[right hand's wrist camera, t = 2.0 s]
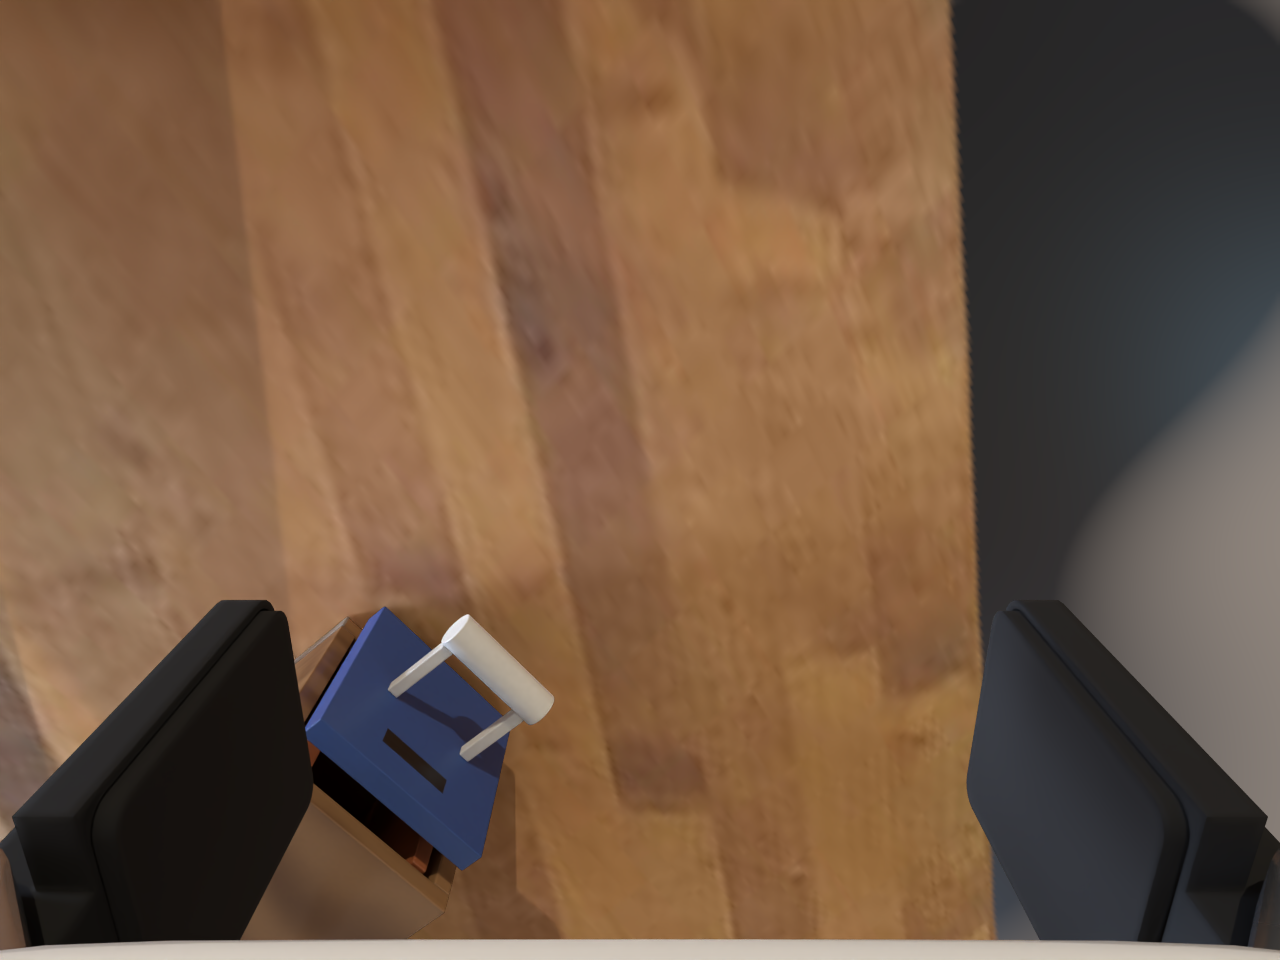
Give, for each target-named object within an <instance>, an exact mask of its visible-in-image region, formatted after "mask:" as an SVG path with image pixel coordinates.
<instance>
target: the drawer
mask: <svg viewBox="0 0 1280 960" xmlns="http://www.w3.org/2000/svg"><path fill="white" fill-rule="evenodd" d="M452 654H454V655H455V656H456V657H457V658H458V659H459V660H460V661H461V662H462V663H463V664H465V665H466V666H467V667H468V668H469V669H470V670H471V671H472V672H473V673H474V674H475V675H476V676H477V677H478V678H479V679H480V680H482V681H483V682H484V683H485V684H486V685H487V686H488V687H489V688H490V689H491V690H492V691H493V692H494V693H495V694H496V695H497V696H498V697H500V698H501V699H502V700H503V701H504V702H505V703H506V704H507V705H508V706H509V707H510V708H511V709H512V710H510V711H509V712H508V713H506V714H505V715H504V716H502V715H501V714H500V713H499V712H498V711H497V710H496V709H495V708H493V707H492V706H491V705H490V704H489V703H488V702H487V701H486V700H485V699H484V698H483V697H482V696H481V695H480V694H479V693H477V692H476V691H475V690H474V689H473V688H472V687H471V686H470V685H469V684H468V683H467V682H466V681H465V680H464V679H462V678H461V677H460V676H459V675H458V674H457V673H456V672H455V671H454V670H453V669H452V668H451V667H450V666H449V665H448V664H446V663H445V662H444V661H445V660H446V659H447V658H449V657H450V656H451V655H452ZM553 703H554V696H553V695H552V694H551V693H550V692H549V691H548V690H547V689H546V688H545V687H544V686H543V685H542V684H541V683H540V682H538V681H537V680H536V679H535V678H534V677H533V676H532V675H531V674H530V673H529V672H528V671H527V670H526V669H525V668H524V667H523V666H522V665H521V664H520V663H519V662H518V661H517V660H516V659H515V658H514V657H513V656H512V655H511V654H510V653H508V652H507V651H506V650H505V649H504V648H503V647H502V646H501V645H500V644H499V643H498V642H497V641H496V640H495V639H494V638H493V637H492V636H491V635H490V634H489V633H488V632H487V631H486V630H485V629H484V628H483V627H482V626H481V625H480V624H479V623H477V622H476V621H475V620H474V619H473V618H472V617H471V616H470V615H468V614H467V615H465V616H463V617H461V618H460V619H459V620H457V621H456V622H455V623H454V624H453V625H452V626H451V627H450V628H449V629H448V631H447V632H446V633H445V635H444V636H443V638H442V643H441V644H439V645H438V646H437V647H436V648H434V649H433V650H431V649H430V648H429V647H428V646H427V645H426V644H425V643H424V642H423V641H422V640H421V639H420V638H419V637H418V636H417V635H415V634H414V633H413V632H412V631H411V630H410V629H409V628H408V627H407V626H406V625H405V624H404V623H403V622H402V621H401V620H399V619H398V618H397V617H396V616H395V615H394V614H393V613H392V612H391V611H390V610H389V609H388V608H387V607H383V608H382V609H381V610H380V611H378V612H377V613H376V614H375V615H373V616H372V617H371V618H370V619H369V620H368V622H367V623H366V625H365V627H364V629H363V630H362V632H361V634H360V635H359V637H358V639H357V640H356V642H355V644H354V646H353V647H352V649H351V651H350V652H349V654H348V656H347V657H346V659H345V661H344V662H343V663H342V664H341V665H340V666H338V667H337V669H336V670H335V672H334V674H333V675H332V677H331V679H330V680H329V682H328V684H327V685H326V687H325V689H324V690H323V692H322V694H321V695H320V697H319V699H318V700H317V702H316V704H315V705H314V707H313V709H312V711H311V712H310V714H309V716H308V717H307V719H306V721H305V722H304V724H305V730H306V736H307V742H308V748H309V754H310V760H311V767H312V773H313V783H314V784H315V785H316V786H317V787H318V788H320V789H321V790H322V791H323V792H324V793H326V794H327V795H328V796H329V797H330V798H332V799H333V800H334V801H335V802H336V803H338V804H339V805H340V806H341V807H342V808H344V809H345V810H346V811H347V812H348V813H350V814H351V815H352V816H353V817H354V818H356V819H357V820H358V821H359V822H360V823H362V824H363V825H364V826H365V827H366V828H368V829H369V830H370V831H371V832H372V833H374V834H375V835H376V836H377V837H378V838H380V839H381V840H382V841H383V842H384V843H386V844H387V845H388V846H389V847H390V848H392V849H393V850H394V851H395V852H396V853H398V854H399V855H400V856H401V857H402V858H404V859H405V860H406V861H407V862H408V863H410V864H411V865H412V866H413V867H414V868H416V869H417V870H418V871H419V872H420V873H422V874H423V873H425V872H426V869H427V866H428V862H429V859H430V856H431V852H432V849H433V847H434V848H436V849H437V850H438V851H439V852H440V853H441V854H443V855H444V856H445V857H446V858H447V859H449V860H450V861H451V862H452V863H453V864H454V865H456V866H457V867H458V868H459V869H460V870H464V869H465V868H467V867H468V866H470V865H471V864H472V863H474V862H475V861H477V860H478V859H480V858H481V857H482V853H483V848H484V844H485V839H486V835H487V830H488V826H489V822H490V817H491V813H492V808H493V804H494V799H495V795H496V790H497V786H498V781H499V777H500V773H501V768H502V764H503V759H504V755H505V750H506V746H507V741H508V737H509V732H510V730H512V729H513V728H515V727H516V726H517V725H519V724H520V723H521V722H523V720H524V721H525V722H526V723H527V724H529V725H533V724H535V723H537V722H538V721H540V720H541V719H542V718H543V717H544V716H545V715H546V714H547V713H548V712H549V710H550V709H551V707H552V705H553Z"/></svg>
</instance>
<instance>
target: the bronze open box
mask: <svg viewBox="0 0 1280 960" xmlns="http://www.w3.org/2000/svg"><path fill="white" fill-rule="evenodd" d="M361 632H362V630H361V629H360V628H359V627H358V626H357V625H356V624H355V623H354V622H352V621H351V620H350V619H349V617H348V616H347V617H346V618H345V619H344V620H343V621H341V622H340V623H339V624H338V625H337V626H335V627H334V628H333V629H332V630H330V631H329V632H328V633H327V634H326V635H324V636H323V637H322V638H321V639H320V640H318V641H317V642H316V643H315V644H314V645H312V646H311V647H310V648H309V649H307V650H306V651H305V652H304V653H303V654H301V655H300V656H299V657H298V658H297V659H295V660H294V663H295V669H296V675H297V681H298V687H299V693H300V699H301V705H302V712H303V718H304V722H305V721H306V719H307V717H308V716H309V714H310V712H311V711H312V709H313V707H314V705H315V704H316V702H317V700H318V699H319V697H320V695H321V694H322V692H323V690H324V689H325V687H326V685H327V684H328V682H329V680H330V679H331V677H332V675H333V674H334V672H335V670H336V669H337V667H338V666H340V665H341V664H342V663H343V662H344V661H345V659H346V657H347V656H348V654H349V652H350V651H351V649H352V647H353V646H354V644H355V642H356V640H357V639H358V637H359V635H360V634H361ZM455 870H456V865H454V864H453V863H452V862H451V861H450V860H449V859H447V858H446V857H445V856H444V855H443V854H441V853H440V852H439V851H438V850H437V849H436V848H434V847H433V849H432V852H431V856H430V859H429V862H428V866H427V869H426V872H425V873H423V874H422V873H420V872H419V871H418V870H417V869H416V868H414V867H413V866H412V865H411V864H410V863H408V862H407V861H406V860H405V859H404V858H402V857H401V856H400V855H399V854H398V853H396V852H395V851H394V850H393V849H392V848H390V847H389V846H388V845H387V844H386V843H384V842H383V841H382V840H381V839H380V838H378V837H377V836H376V835H375V834H374V833H372V832H371V831H370V830H369V829H368V828H366V827H365V826H364V825H363V824H362V823H360V822H359V821H358V820H357V819H356V818H354V817H353V816H352V815H351V814H350V813H348V812H347V811H346V810H345V809H344V808H342V807H341V806H340V805H339V804H338V803H336V802H335V801H334V800H333V799H332V798H330V797H329V796H328V795H327V794H326V793H324V792H323V791H322V790H321V789H320V788H318V787H317V786H316V785H315V784H314V783H313V793H312V798H311V802H310V804H309V807H308V809H307V811H306V813H305V815H304V817H303V819H302V821H301V823H300V825H299V827H298V829H297V830H296V832H295V834H294V836H293V838H292V840H291V842H290V844H289V846H288V848H287V850H286V852H285V854H284V856H283V858H282V860H281V862H280V863H279V865H278V867H277V869H276V871H275V873H274V875H273V877H272V879H271V881H270V883H269V885H268V887H267V889H266V891H265V893H264V895H263V897H262V898H261V900H260V902H259V904H258V906H257V908H256V910H255V912H254V914H253V916H252V918H251V920H250V922H249V924H248V926H247V928H246V930H245V931H244V933H243V935H242V937H241V939H240V940H395V939H407V938H408V937H410V936H411V935H413V934H414V933H416V932H417V931H419V930H420V929H422V928H423V927H424V926H426V925H427V924H429V923H430V922H432V921H433V920H435V919H436V918H438V917H439V916H440V915H442V914H443V913H444V912H445V909H446V905H447V902H448V898H449V894H450V890H451V886H452V882H453V878H454V874H455Z"/></svg>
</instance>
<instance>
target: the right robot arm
mask: <svg viewBox="0 0 1280 960" xmlns="http://www.w3.org/2000/svg"><path fill="white" fill-rule="evenodd" d="M312 793H313V773H312V767H311V760H310V754H309V748H308V742H307V736H306V730H305V724H304V718H303V712H302V705H301V699H300V693H299V687H298V681H297V675H296V669H295V663H294V657H293V651H292V644H291V638H290V632H289V626H288V621H287V617H286V615H285V614H284V613H283V612H282V611H274V608H273V606H272V605H271V603H270V602H269V601H267V600H221V601H220V602H219V603H217V604H216V605H215V606H214V607H213V608H212V609H211V610H210V611H209V612H208V613H207V614H206V615H205V616H204V618H203V619H202V620H201V621H200V622H199V623H198V624H197V625H196V626H195V627H194V628H193V629H192V630H191V631H190V632H189V633H188V634H187V635H186V636H185V637H184V638H183V639H182V640H181V641H180V643H179V644H178V645H177V646H176V647H175V648H174V649H173V650H172V651H171V652H170V653H169V654H168V655H167V656H166V657H165V658H164V659H163V660H162V661H161V662H160V663H159V664H158V665H157V666H156V667H155V669H154V670H153V671H152V672H151V673H150V674H149V675H148V676H147V677H146V678H145V679H144V680H143V681H142V682H141V683H140V684H139V685H138V686H137V687H136V688H135V689H134V690H133V691H132V692H131V694H130V695H129V696H128V697H127V698H126V699H125V700H124V701H123V702H122V703H121V704H120V705H119V706H118V707H117V708H116V709H115V710H114V711H113V712H112V713H111V714H110V715H109V716H108V717H107V718H106V720H105V721H104V722H103V723H102V724H101V725H100V726H99V727H98V728H97V729H96V730H95V731H94V732H93V733H92V734H91V735H90V736H89V737H88V738H87V739H86V740H85V741H84V742H83V743H82V745H81V746H80V747H79V748H78V749H77V750H76V751H75V752H74V753H73V754H72V755H71V756H70V757H69V758H68V759H67V760H66V761H65V762H64V763H63V764H62V765H61V766H60V767H59V768H58V769H57V771H56V772H55V773H54V774H53V775H52V776H51V777H50V778H49V779H48V780H47V781H46V782H45V783H44V784H43V785H42V786H41V787H40V788H39V789H38V790H37V791H36V792H35V793H34V794H33V795H32V797H31V798H30V799H29V800H28V801H27V802H26V803H25V804H24V805H23V806H22V807H21V808H20V809H19V810H18V811H17V812H16V813H15V814H14V815H13V816H12V818H13V821H14V824H15V828H14V829H13V830H12V831H11V832H10V833H9V834H8V835H7V836H6V837H5V838H4V839H3V840H2V841H1V842H0V960H1280V842H1279V841H1278V840H1277V839H1276V838H1275V837H1274V836H1273V835H1272V834H1271V833H1270V832H1269V831H1268V830H1267V829H1266V828H1265V824H1266V821H1267V818H1268V816H1267V815H1266V814H1265V813H1264V812H1263V811H1262V810H1261V809H1260V808H1259V807H1258V806H1257V805H1256V804H1255V803H1254V802H1253V801H1252V800H1251V799H1250V798H1249V797H1248V795H1246V793H1245V792H1244V791H1243V790H1242V789H1241V788H1240V787H1239V786H1238V785H1237V784H1236V783H1235V782H1234V781H1233V780H1232V779H1231V778H1230V777H1229V776H1228V775H1227V774H1226V773H1225V772H1224V771H1223V769H1222V768H1221V767H1220V766H1219V765H1218V764H1217V763H1216V762H1215V761H1214V760H1213V759H1212V758H1211V757H1210V756H1209V755H1208V754H1207V753H1206V752H1205V751H1204V750H1203V749H1202V748H1201V747H1200V746H1199V745H1198V743H1197V742H1196V741H1195V740H1194V739H1193V738H1192V737H1191V736H1190V735H1189V734H1188V733H1187V732H1186V731H1185V730H1184V729H1183V728H1182V727H1181V726H1180V725H1179V724H1178V723H1177V722H1176V721H1175V720H1174V718H1173V717H1172V716H1171V715H1170V714H1169V713H1168V712H1167V711H1166V710H1165V709H1164V708H1163V707H1162V706H1161V705H1160V704H1159V703H1158V702H1157V701H1156V700H1155V699H1154V698H1153V697H1152V696H1151V695H1150V694H1149V692H1148V691H1147V690H1146V689H1145V688H1144V687H1143V686H1142V685H1141V684H1140V683H1139V682H1138V681H1137V680H1136V679H1135V678H1134V677H1133V676H1132V675H1131V674H1130V673H1129V672H1128V671H1127V670H1126V669H1125V668H1124V666H1123V665H1122V664H1121V663H1120V662H1119V661H1118V660H1117V659H1116V658H1115V657H1114V656H1113V655H1112V654H1111V653H1110V652H1109V651H1108V650H1107V649H1106V648H1105V647H1104V646H1103V645H1102V644H1101V643H1100V642H1099V640H1098V639H1097V638H1096V637H1095V636H1094V635H1093V634H1092V633H1091V632H1090V631H1089V630H1088V629H1087V628H1086V627H1085V626H1084V625H1083V624H1082V623H1081V622H1080V621H1079V620H1078V619H1077V618H1076V617H1075V616H1074V614H1073V613H1072V612H1071V611H1070V610H1069V609H1068V608H1067V607H1066V606H1065V605H1064V604H1063V603H1061V602H1060V601H1058V600H1013V601H1011V602H1010V603H1009V605H1008V606H1007V608H1006V611H998V612H997V613H996V614H995V615H994V617H993V621H992V626H991V632H990V638H989V644H988V651H987V657H986V663H985V669H984V675H983V681H982V687H981V693H980V699H979V705H978V712H977V718H976V724H975V730H974V736H973V742H972V748H971V754H970V760H969V767H968V773H967V793H968V798H969V802H970V804H971V807H972V809H973V811H974V813H975V815H976V817H977V819H978V821H979V823H980V825H981V827H982V829H983V830H984V832H985V834H986V836H987V838H988V840H989V842H990V844H991V846H992V848H993V850H994V852H995V854H996V856H997V858H998V860H999V861H1000V864H1001V865H1002V867H1003V869H1004V871H1005V873H1006V875H1007V877H1008V879H1009V881H1010V883H1011V885H1012V887H1013V889H1014V891H1015V893H1016V894H1017V896H1018V898H1019V900H1020V902H1021V904H1022V906H1023V908H1024V910H1025V912H1026V914H1027V916H1028V918H1029V920H1030V922H1031V924H1032V926H1033V928H1034V930H1035V931H1036V933H1037V935H1038V937H1039V939H1040V940H885V939H395V940H240V939H241V937H242V935H243V933H244V931H245V930H246V928H247V926H248V924H249V922H250V920H251V918H252V916H253V914H254V912H255V910H256V908H257V906H258V904H259V902H260V900H261V898H262V897H263V895H264V893H265V891H266V889H267V887H268V885H269V883H270V881H271V879H272V877H273V875H274V873H275V871H276V869H277V867H278V865H279V863H280V862H281V860H282V858H283V856H284V854H285V852H286V850H287V848H288V846H289V844H290V842H291V840H292V838H293V836H294V834H295V832H296V830H297V829H298V827H299V825H300V823H301V821H302V819H303V817H304V815H305V813H306V811H307V809H308V807H309V804H310V802H311V798H312Z"/></svg>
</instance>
